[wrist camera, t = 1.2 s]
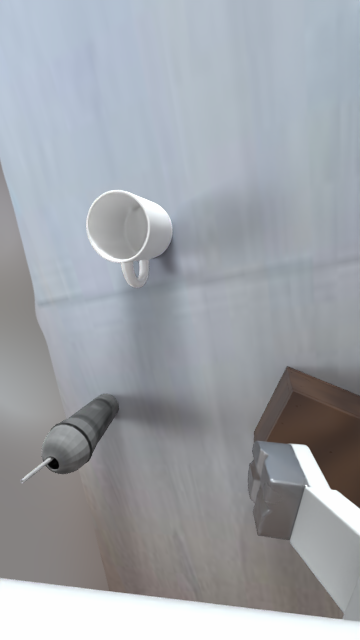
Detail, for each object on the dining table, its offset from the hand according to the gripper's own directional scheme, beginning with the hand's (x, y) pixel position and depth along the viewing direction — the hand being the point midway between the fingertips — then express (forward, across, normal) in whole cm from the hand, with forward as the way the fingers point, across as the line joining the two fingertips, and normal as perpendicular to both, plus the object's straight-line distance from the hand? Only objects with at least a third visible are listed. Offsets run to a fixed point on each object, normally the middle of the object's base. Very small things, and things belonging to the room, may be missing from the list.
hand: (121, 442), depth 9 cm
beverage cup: (+39, +11, +26) cm, 48 cm away
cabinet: (+32, -23, +20) cm, 44 cm away
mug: (+39, +5, -4) cm, 40 cm away
